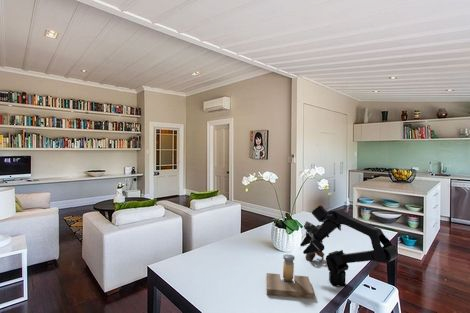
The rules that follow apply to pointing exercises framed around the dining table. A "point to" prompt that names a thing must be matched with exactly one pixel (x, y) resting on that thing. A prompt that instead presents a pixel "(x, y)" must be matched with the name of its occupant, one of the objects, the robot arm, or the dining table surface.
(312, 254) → the pottery mug
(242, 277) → the dining table surface
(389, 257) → the robot arm
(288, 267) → the bobbin
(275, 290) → the notched board
